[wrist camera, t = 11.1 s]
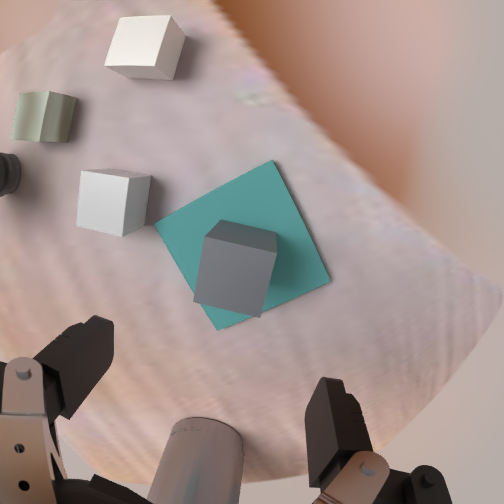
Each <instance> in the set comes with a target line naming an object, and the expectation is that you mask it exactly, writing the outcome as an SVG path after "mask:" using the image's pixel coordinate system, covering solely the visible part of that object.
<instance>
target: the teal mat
mask: <svg viewBox="0 0 504 504" xmlns="http://www.w3.org/2000/svg"><path fill="white" fill-rule="evenodd" d="M220 220H226V221H230V222H234V223H239V224H243V225H248V226H252V227H256V228H261V229H265V230H269V231H273V232H276V239H277V255H276V259H275V263H274V267H273V271H272V275H271V279H270V283H269V286H268V290H267V294H266V298H265V302H264V305H263V309H262V312H264V311H266V310H268V309H271V308H273V307H275V306H278V305H280V304H282V303H284V302H287V301H289V300H291V299H293V298H296V297H298V296H300V295H302V294H304V293H307V292H309V291H311V290H313V289H315V288H318V287H320V286H322V285H324V284H326V283H328V282H330V278H329V276H328V274H327V272H326V269H325V267H324V265H323V263H322V261H321V258H320V256H319V254H318V252H317V250H316V248H315V245H314V243H313V241H312V239H311V237H310V235H309V233H308V231H307V229H306V226H305V224H304V222H303V220H302V218H301V216H300V214H299V212H298V210H297V208H296V206H295V204H294V202H293V200H292V198H291V196H290V194H289V192H288V190H287V188H286V186H285V184H284V182H283V180H282V178H281V176H280V174H279V172H278V170H277V168H276V166H275V164H274V162H273V160H271V161H269V162H267V163H265V164H263V165H261V166H259V167H257V168H255V169H253V170H251V171H249V172H247V173H245V174H243V175H241V176H239V177H237V178H236V179H234V180H232V181H230V182H228V183H226V184H224V185H222V186H220V187H219V188H217V189H215V190H213V191H211V192H209V193H207V194H206V195H204V196H202V197H200V198H198V199H197V200H195V201H193V202H191V203H189V204H188V205H186V206H184V207H182V208H181V209H179V210H177V211H175V212H174V213H172V214H170V215H168V216H167V217H165V218H163V219H162V220H160V221H158V222H156V223H155V224H154V225H155V227H156V228H157V230H158V232H159V234H160V236H161V238H162V239H163V241H164V243H165V245H166V246H167V248H168V250H169V252H170V254H171V255H172V257H173V259H174V260H175V262H176V264H177V266H178V267H179V269H180V271H181V273H182V274H183V276H184V278H185V279H186V281H187V283H188V284H189V286H190V288H191V289H192V291H193V293H194V294H195V288H196V282H197V276H198V270H199V264H200V258H201V252H202V247H203V241H204V236H205V235H206V234H207V233H208V232H209V231H210V230H211V229H212V228H213V227H214V226H215V225H216V224H217V223H218V222H219V221H220ZM201 306H202V307H203V309H204V311H205V312H206V314H207V315H208V317H209V319H210V320H211V322H212V323H213V325H214V327H215V328H216V330H217V331H218V330H220V329H223V328H225V327H228V326H230V325H233V324H235V323H238V322H240V321H242V320H245V319H247V318H250V317H252V316H250V315H246V314H241V313H237V312H233V311H228V310H224V309H220V308H216V307H212V306H208V305H204V304H201Z"/></svg>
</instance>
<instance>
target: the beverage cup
mask: <svg viewBox="0 0 504 504" xmlns="http://www.w3.org/2000/svg"><path fill="white" fill-rule="evenodd" d="M20 176H21V168H20V163H19V161H18V159H17V157H16V156H15V155H13V154H4V153H0V197H1V196H4V195H5V194H8V193H11V192H13V191H14V190H15V189H16V188H17V186H18V184H19V181H20Z"/></svg>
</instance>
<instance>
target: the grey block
mask: <svg viewBox="0 0 504 504" xmlns="http://www.w3.org/2000/svg"><path fill="white" fill-rule="evenodd" d="M151 177H152V175H146V174H140V173H134V172H127V171H121V170H114V169H95V170H83V171H81V179H80V188H79V198H78V209H77V224H76V226H79V227H83V228H87V229H91V230H95V231H99V232H103V233H107V234H111V235H116V236H120V237H123V236H125V235H127V234H129V233H131V232H133V231H135V230H137V229H139V228H141V227H143V226H144V225H145V217H146V210H147V202H148V196H149V189H150V183H151Z"/></svg>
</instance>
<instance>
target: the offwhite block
mask: <svg viewBox="0 0 504 504" xmlns="http://www.w3.org/2000/svg"><path fill="white" fill-rule="evenodd" d="M185 38H186V35H185V34H184V33H183V31H182V30H181V28H180V27H179V26H178V24H177V23H176V22H175V20H174V19H173V18H172V17H171V16H137V17H123V18H120V20H119V23H118V26H117V28H116V31H115V34H114V37H113V40H112V43H111V46H110V49H109V52H108V55H107V58H106V61H105V65H104V66H106V67H108V68H109V69H111V70H113V71H115V72H117V73H119V74H121V75H123V76H125V77H127V78H141V79H160V80H173V79H174V75H175V71H176V68H177V64H178V61H179V57H180V54H181V51H182V47H183V44H184V41H185Z"/></svg>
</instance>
